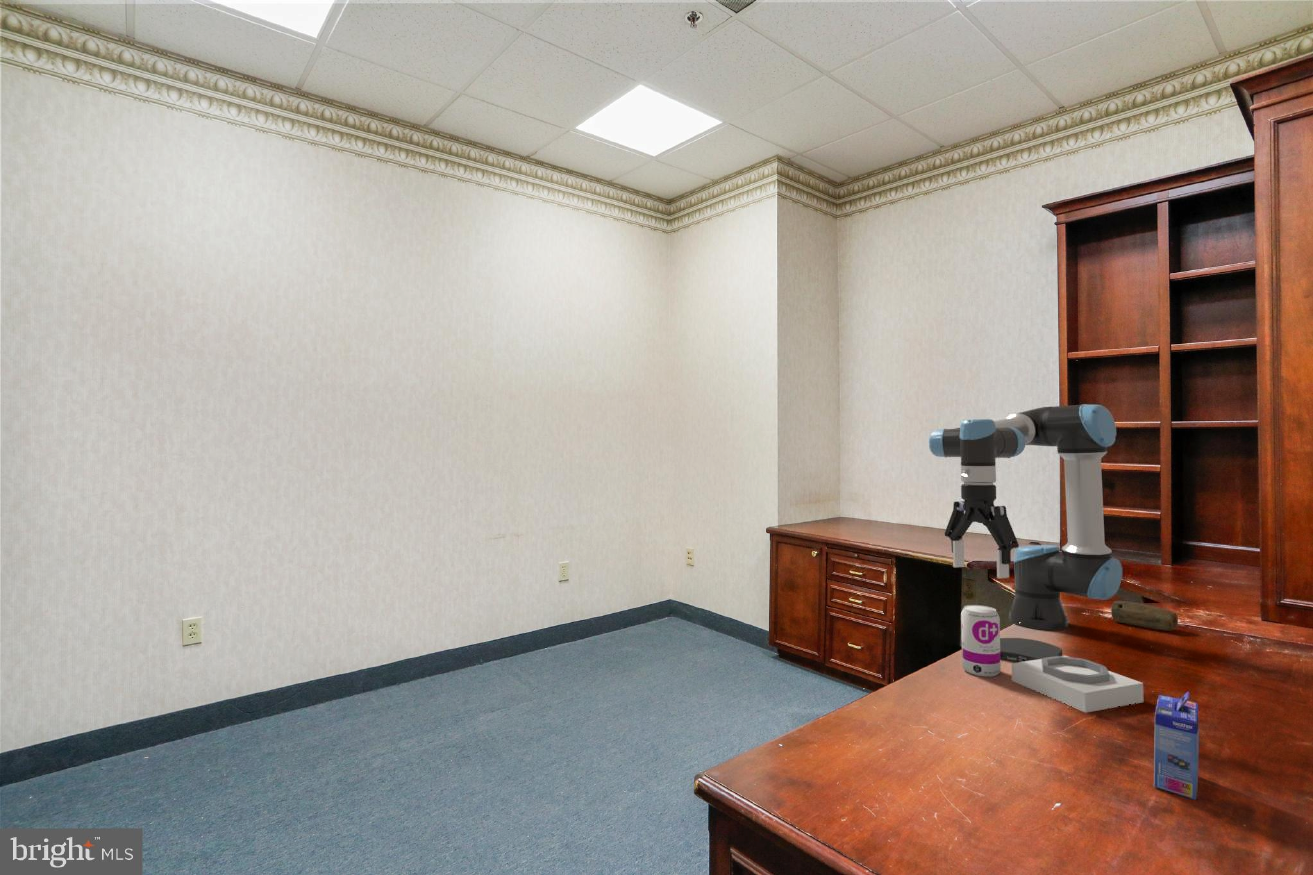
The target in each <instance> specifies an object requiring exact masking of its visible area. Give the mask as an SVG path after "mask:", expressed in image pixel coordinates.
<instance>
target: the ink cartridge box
mask: <svg viewBox="0 0 1313 875" xmlns="http://www.w3.org/2000/svg"><path fill="white" fill-rule="evenodd" d="M1189 699H1190V691H1187V692H1186V693H1185V694H1184V695H1183V696H1182V697H1181V698H1177V697H1172V696H1168V695H1162V694H1159V695H1158V698H1157V700H1156V702H1157V704H1156V706H1155V712H1154V735H1153V736H1154V740H1153V741H1154V743H1153V744H1154V746H1153V747H1154V750H1153V751H1154V753H1153V755H1154V756H1153V757H1154V759H1153V767H1154V768H1153V787H1154V788H1156V789H1160V790H1163V791H1165V792H1169V793H1174V794H1176V795H1178V796H1182V797H1185V798H1188V799H1191V800H1196V799H1197V794H1198V781H1199V752H1200V751H1199V750H1200V749H1199V748H1200V747H1199V746H1200V745H1199V744H1200V742H1199V741H1200V734H1199V733H1200V727H1199V726H1200V725H1199V724H1200V723H1199V703H1197V702H1193V701H1191V700H1189Z"/></svg>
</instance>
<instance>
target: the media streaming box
mask: <svg viewBox="0 0 1313 875" xmlns="http://www.w3.org/2000/svg"><path fill="white" fill-rule="evenodd" d="M1054 656H1063V649H1062V648H1061V647H1059V646H1056V645H1054V644H1053V643H1052V644H1051V643H1049V642H1044V641H1041V640H1036V639H1029V638H1023V637H1000V661H1006V662H1009V663H1017V662H1024V661H1031V660H1038V659H1042V658H1047V657H1054Z"/></svg>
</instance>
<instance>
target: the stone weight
mask: <svg viewBox="0 0 1313 875" xmlns="http://www.w3.org/2000/svg"><path fill="white" fill-rule="evenodd" d="M1110 613H1111V617H1112V619H1113V620H1114V621H1115V622H1118V623H1121V624H1123V625H1124V624H1126V625H1129V626H1134V627H1138V628H1145V629H1151V630H1159V631H1171V632H1172V631H1174V630H1176V629H1177V628H1178V625H1179V617H1178V614H1177V613H1176V612H1174V611H1172V610H1169V609H1166V608H1164V607H1163V608H1162V607H1159V606H1153V605H1149V604H1143V603H1138V602H1135V601H1134V602H1133V601H1126V600H1115V601H1113V602H1112V605H1111V610H1110Z"/></svg>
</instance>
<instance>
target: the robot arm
mask: <svg viewBox="0 0 1313 875" xmlns="http://www.w3.org/2000/svg"><path fill="white" fill-rule="evenodd" d="M1114 419H1115V418H1114V417H1113V415H1112V413H1111V412H1110V410H1109V409H1108V408H1106V407H1105V406H1104V405H1101V404H1086V403H1084V404H1076V405H1075V404H1074V405H1062V406H1061V405H1057V406H1043V407H1037V408H1032V409H1029V410H1025V411H1021V412H1017V413H1016V412H1015V413H1013V414H1009V415H1008V416H1007V417H1006V418H1005V419H999V420H993V419H990V418H989V419H988V418H987V419H986V418H984V419H983V418H982V419H981V418H980V419H979V418H978V419H977V418H976V419H964V420H963V421H961V423H960V427H955V428H943V429H942V428H941V429H936V430H933V432H932V433H931V434H930V435H929V438H928V445H929V446H928V447H929V451H930V452H931V454H932V455H934V456H935V457H937V458H938V457H939V458H942V457H943V458H945V459H946V458H960V482H962V484H961V485H960V497H961V499H962V500H963V501H962V500H961V501H960V500H959V501H954V502H953V507H952V512H951V515H950V518H949V519H948V523H947V525H946V528H945V531H944V536H945V538H949V540H950V541H951V542H950V543H951V553H952V567H953V568H964V567H965V541H964V540H963V537H964V535H965V534H966V532H967V531H968V530H969V528H970V527H971V525H972V524H973V523H977V524H978V523H979V524H982V525H983V526H985V527H986V528H987V530H988V531H989V533H990V535H991V537H992V538H993V540H994V541H995V543H996V545H997V546H998V547H997V549H996V578H997V579H1007V578H1008V579H1009V578H1010V565H1011V561H1012V560H1011V558H1012V555H1011V552H1012V550H1013V549H1015V550H1014V555H1013V556H1014V557H1013V564H1014V565H1013V567H1014V569H1013V570H1014V571H1013V572H1014V598H1013V601H1012V603H1011V607H1010V610H1008V619H1009V622H1011V623H1013V624H1014V625H1017V624H1018V626H1021V627H1025V628H1029V629H1035V630H1047V631H1051V630H1052V631H1059V630H1065V629H1067V628H1068V627H1069V621H1068V620H1069V619H1068V617H1067V615H1066V613H1065V608H1064V606H1063V603H1062V600H1061V593H1062V594H1067V595H1072V596H1079V597H1083V598H1088V599H1090V600H1091V599H1092V600H1094V599H1096V600H1101V601H1103V600H1105V601H1106V600H1110V599H1112V597H1114V596H1115V595H1116V594H1117V593H1118V590H1119V589H1120V585H1121V582H1122V579H1123V565H1122V563H1121V561H1120V560H1118V559H1117V558H1115V557H1113V553H1112V552H1113V551H1112V549H1111V548H1110V547H1108V546H1107V545H1106V541H1105V524H1104V520H1105V519H1104V499H1103V480H1102V479H1103V477H1102V474H1103V473H1102V459H1103V457H1104V456H1105V455H1106V454H1107V453H1108V447H1111V446H1112V445H1113V444H1114V443H1115V442H1116V437H1117V428H1116V422H1115V420H1114ZM1026 446H1040V447H1057V451H1056V452H1057V454H1058V455H1059V456H1060V457H1061V458H1062V459H1063V460H1064V461H1063V463H1064V464H1063V465H1064V480H1065V481H1064V482H1065V507H1066V529H1067V543H1066V544H1065V545H1063V546H1062V547H1061V549H1060V546H1058V545H1054V544H1053V545H1051V544H1043V545H1042V544H1040V545H1039V544H1037V545H1025V546H1020V545H1019V541H1018V540H1017V537H1016V535H1015V531H1014V530H1013V527H1012V525H1011V522H1010V520H1009V518H1008V514H1007V508H1006V506H1005V505H995V500H997V485H995V484H994V483H996V482H997V473H996V472H997V469H996V467H997V466H996V459H1001V458H1002V459H1010V458H1014V457H1018V456H1019V455H1021V454H1022V453H1023V452H1024V450H1025V447H1026ZM1019 622H1021V623H1020V624H1019Z"/></svg>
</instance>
